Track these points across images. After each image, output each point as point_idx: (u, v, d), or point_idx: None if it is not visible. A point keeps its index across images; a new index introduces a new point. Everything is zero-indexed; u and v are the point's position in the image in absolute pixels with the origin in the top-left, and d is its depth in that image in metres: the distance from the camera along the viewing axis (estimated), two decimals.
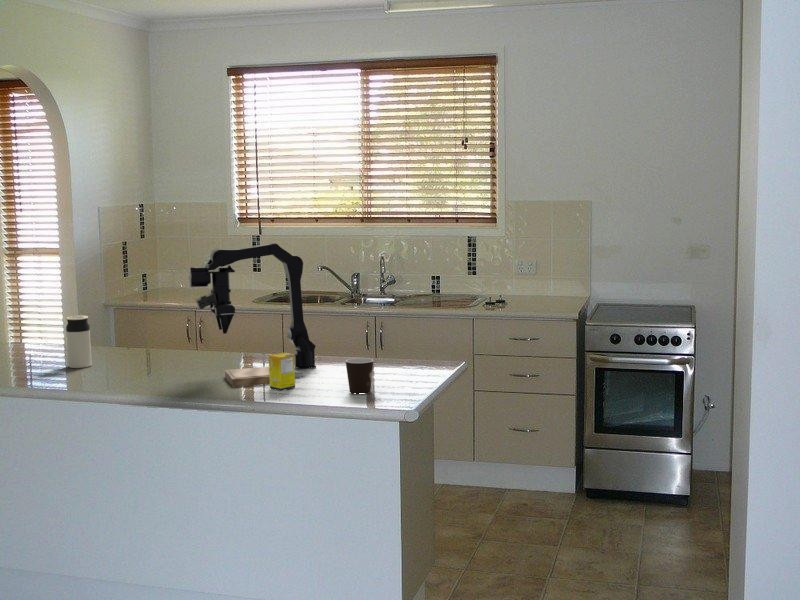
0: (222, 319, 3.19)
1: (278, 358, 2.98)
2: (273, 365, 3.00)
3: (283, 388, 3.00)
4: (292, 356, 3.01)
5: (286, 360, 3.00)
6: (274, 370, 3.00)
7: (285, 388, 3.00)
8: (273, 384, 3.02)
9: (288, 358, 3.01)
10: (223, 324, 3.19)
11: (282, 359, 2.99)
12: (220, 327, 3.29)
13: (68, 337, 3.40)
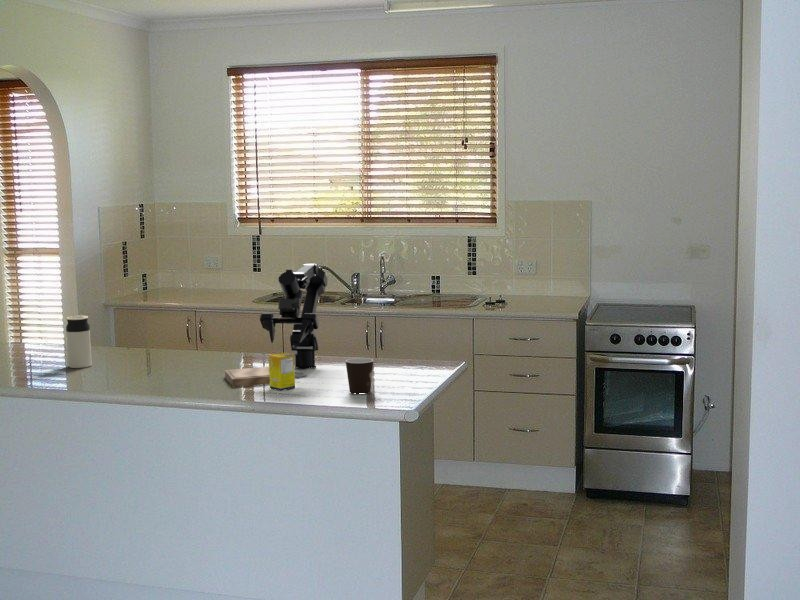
0: None
1: (278, 358, 2.98)
2: (273, 365, 3.00)
3: (283, 388, 3.00)
4: (292, 356, 3.01)
5: (286, 360, 3.00)
6: (274, 370, 3.00)
7: (285, 388, 3.00)
8: (273, 384, 3.02)
9: (288, 358, 3.01)
10: (303, 333, 3.10)
11: (282, 359, 2.99)
12: (272, 340, 3.11)
13: (68, 337, 3.40)
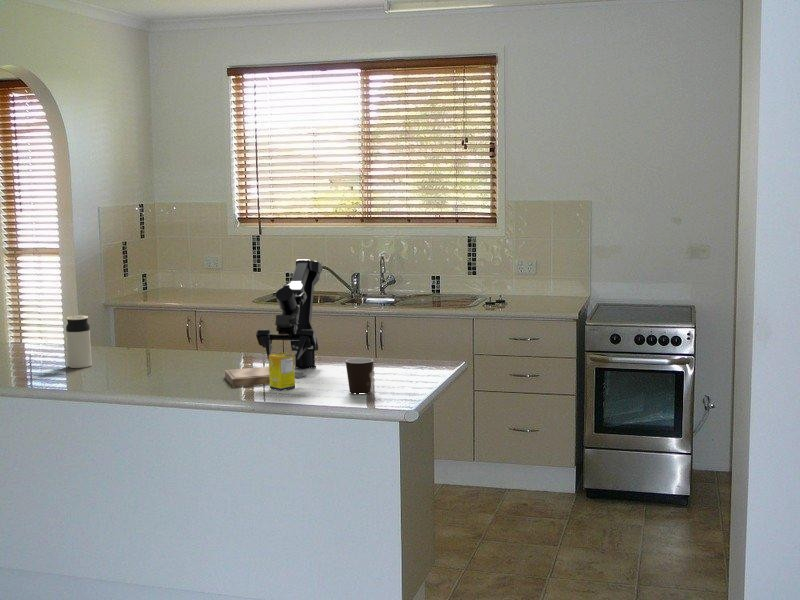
0: None
1: (278, 358, 2.98)
2: (273, 365, 3.00)
3: (283, 388, 3.00)
4: (292, 356, 3.01)
5: (286, 360, 3.00)
6: (274, 370, 3.00)
7: (285, 388, 3.00)
8: (273, 384, 3.02)
9: (288, 358, 3.01)
10: (301, 349, 3.05)
11: (282, 359, 2.99)
12: None
13: (68, 337, 3.40)
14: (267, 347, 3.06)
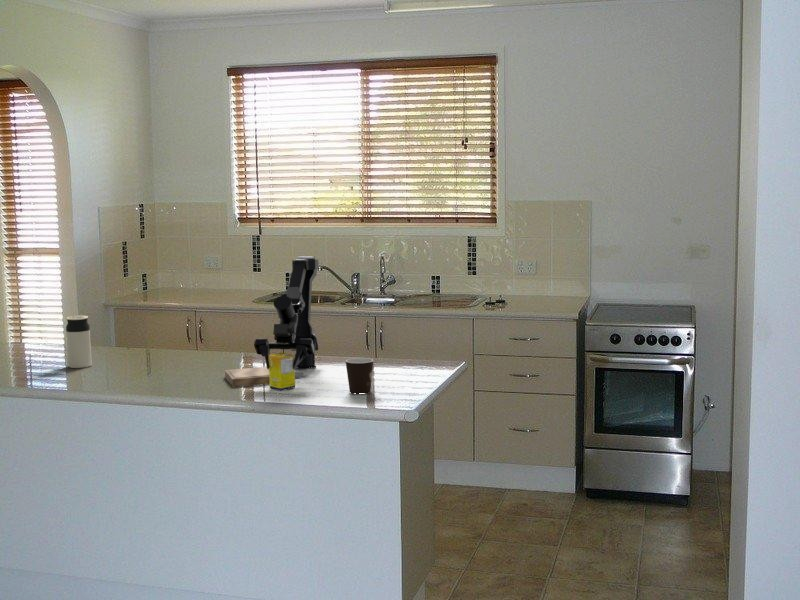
0: None
1: (278, 358, 2.98)
2: (273, 365, 3.00)
3: (283, 388, 3.00)
4: (292, 356, 3.01)
5: (286, 360, 3.00)
6: (274, 370, 3.00)
7: (285, 388, 3.00)
8: (273, 384, 3.02)
9: (288, 358, 3.00)
10: (298, 359, 3.02)
11: (282, 359, 2.99)
12: (268, 366, 3.02)
13: (68, 337, 3.40)
14: (266, 356, 3.03)
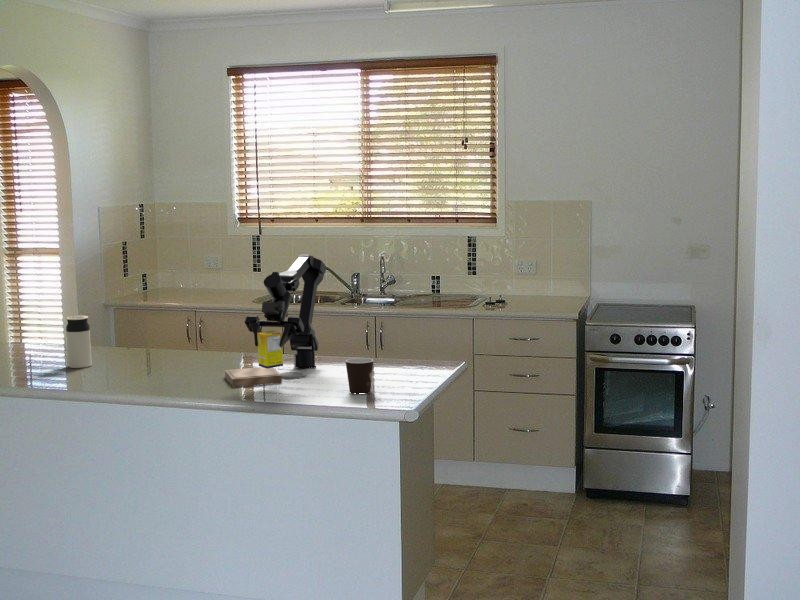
0: (287, 332, 3.05)
1: (264, 336, 3.01)
2: (261, 343, 3.03)
3: (270, 366, 3.02)
4: (279, 334, 3.03)
5: (273, 338, 3.02)
6: (261, 348, 3.03)
7: (272, 366, 3.03)
8: (261, 361, 3.05)
9: (276, 336, 3.03)
10: (285, 337, 3.04)
11: (268, 337, 3.01)
12: (257, 343, 3.05)
13: (68, 337, 3.40)
14: (255, 334, 3.06)
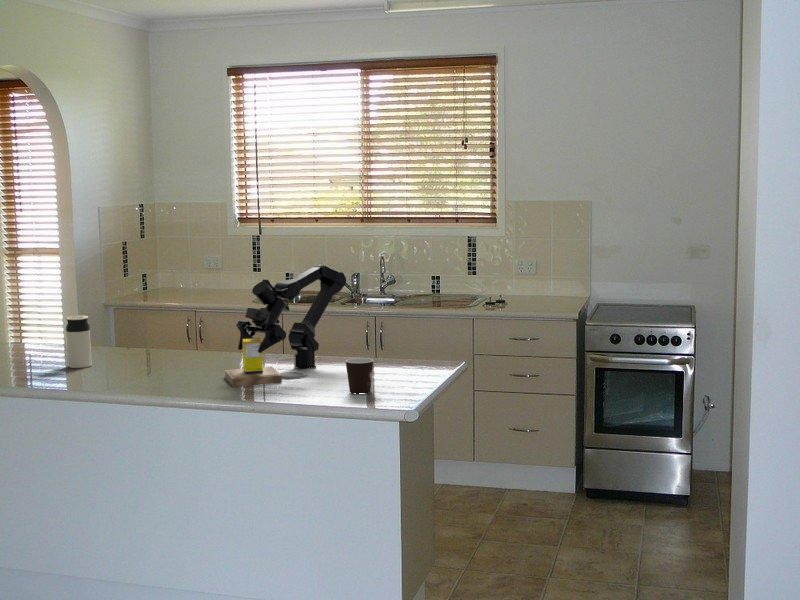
0: (268, 338, 3.12)
1: (243, 342, 3.12)
2: (243, 349, 3.15)
3: (248, 371, 3.13)
4: (259, 342, 3.12)
5: (252, 345, 3.12)
6: (243, 353, 3.14)
7: (250, 372, 3.13)
8: None
9: (255, 343, 3.12)
10: (265, 343, 3.12)
11: (247, 344, 3.12)
12: (240, 347, 3.17)
13: (68, 337, 3.40)
14: (241, 338, 3.18)
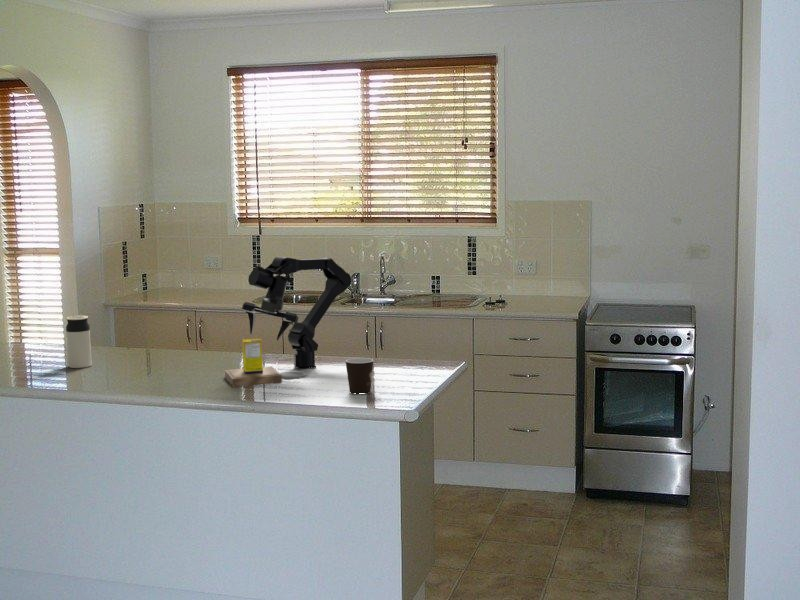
0: None
1: (243, 342, 3.12)
2: (243, 349, 3.15)
3: (248, 371, 3.13)
4: (259, 342, 3.12)
5: (252, 345, 3.12)
6: (243, 353, 3.14)
7: (250, 372, 3.13)
8: None
9: (255, 343, 3.12)
10: (282, 331, 3.23)
11: (247, 344, 3.12)
12: None
13: (68, 337, 3.40)
14: (251, 322, 3.23)
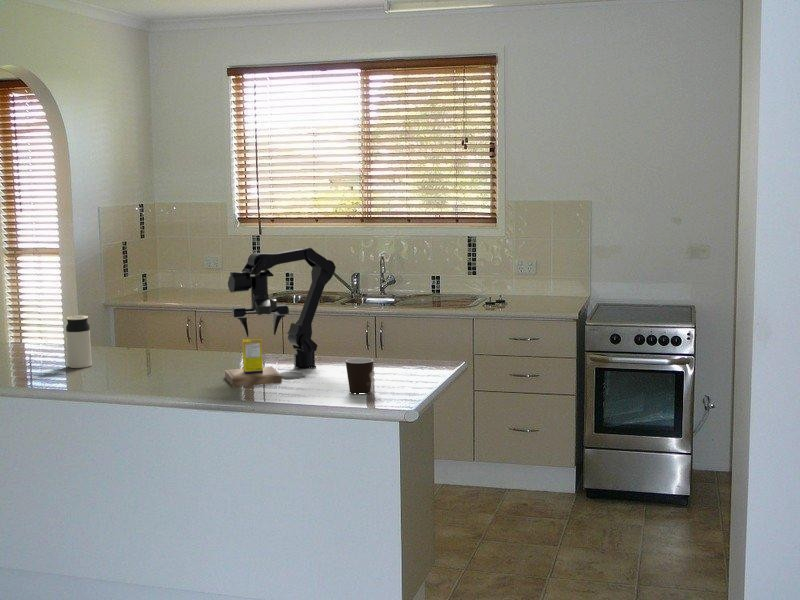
0: None
1: (243, 342, 3.12)
2: (243, 349, 3.15)
3: (248, 371, 3.13)
4: (259, 342, 3.12)
5: (252, 345, 3.12)
6: (243, 353, 3.14)
7: (250, 372, 3.13)
8: None
9: (255, 343, 3.12)
10: None
11: (247, 344, 3.12)
12: None
13: (68, 337, 3.40)
14: (245, 326, 3.22)
